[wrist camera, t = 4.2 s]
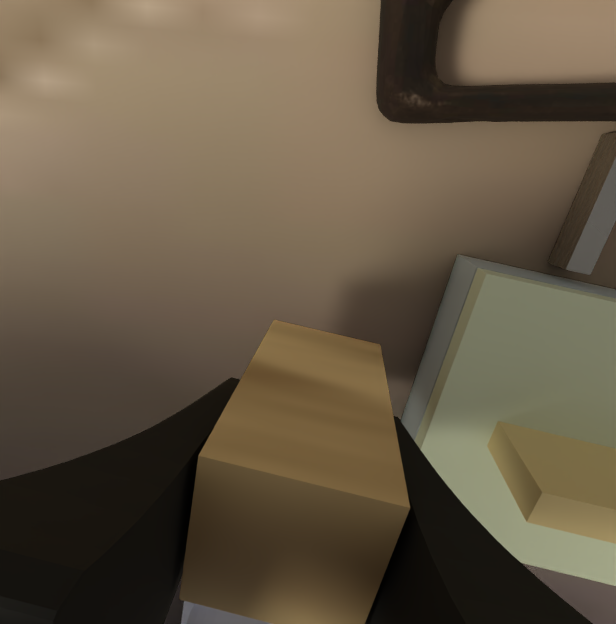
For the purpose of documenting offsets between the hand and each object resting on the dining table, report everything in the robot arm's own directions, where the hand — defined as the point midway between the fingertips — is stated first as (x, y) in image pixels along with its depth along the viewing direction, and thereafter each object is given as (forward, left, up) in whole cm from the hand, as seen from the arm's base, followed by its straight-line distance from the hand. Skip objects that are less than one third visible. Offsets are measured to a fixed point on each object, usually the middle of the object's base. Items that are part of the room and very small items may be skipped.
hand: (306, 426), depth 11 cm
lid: (0, -10, -3) cm, 10 cm away
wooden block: (0, 0, -2) cm, 2 cm away
